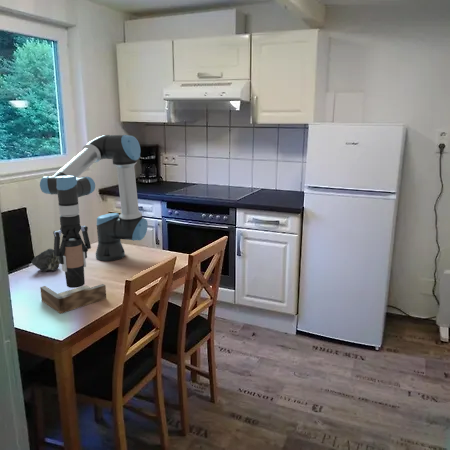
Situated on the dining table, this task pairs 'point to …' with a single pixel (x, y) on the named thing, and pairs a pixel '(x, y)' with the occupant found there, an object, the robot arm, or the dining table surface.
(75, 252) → the travel mug
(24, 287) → the dining table surface
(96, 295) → the wooden l-shaped block
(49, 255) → the rock
